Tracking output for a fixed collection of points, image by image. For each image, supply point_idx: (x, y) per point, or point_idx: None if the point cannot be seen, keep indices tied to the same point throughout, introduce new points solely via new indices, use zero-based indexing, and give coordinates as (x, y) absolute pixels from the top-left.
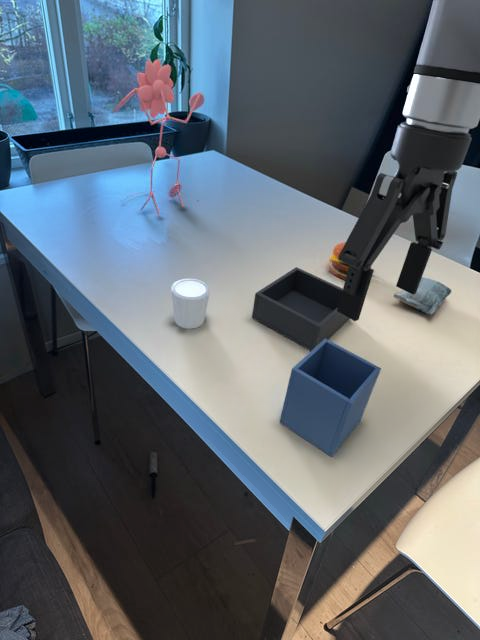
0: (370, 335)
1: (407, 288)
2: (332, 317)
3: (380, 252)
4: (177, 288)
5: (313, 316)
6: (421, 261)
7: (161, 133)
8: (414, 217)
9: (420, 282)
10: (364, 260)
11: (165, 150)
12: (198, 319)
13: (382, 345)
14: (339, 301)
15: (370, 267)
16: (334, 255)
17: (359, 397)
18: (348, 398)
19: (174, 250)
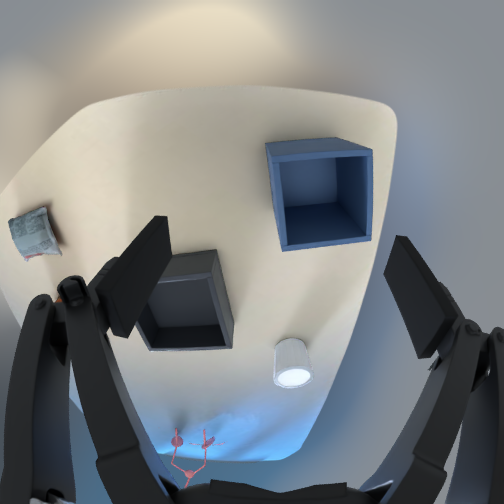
0: (127, 227)
1: (165, 236)
2: (178, 274)
3: (452, 357)
4: (303, 381)
5: (170, 288)
6: (131, 273)
7: (186, 486)
8: (142, 426)
9: (28, 250)
10: (495, 342)
11: (186, 474)
12: (294, 345)
13: (128, 207)
14: None
15: (58, 300)
16: None
17: (340, 148)
18: (367, 157)
19: (225, 405)
